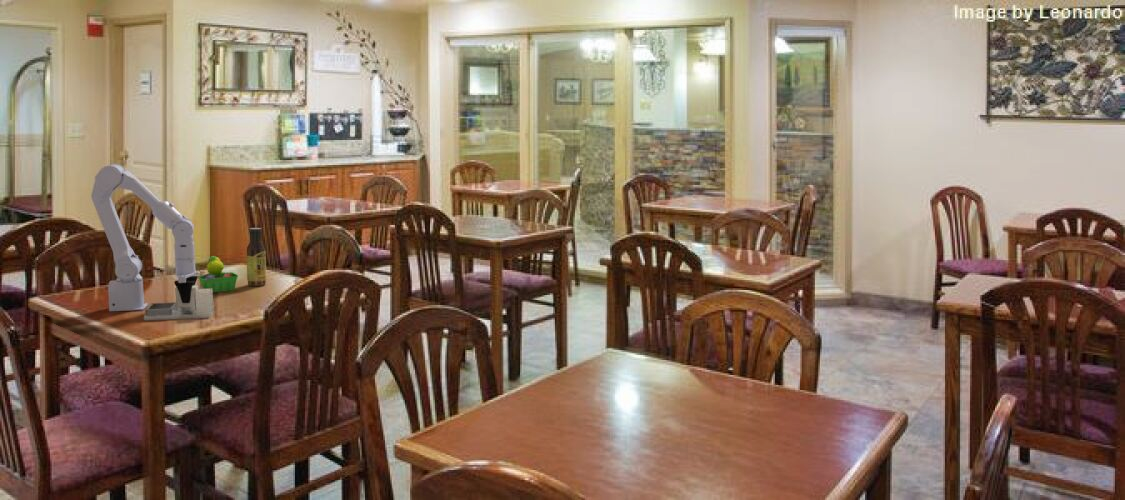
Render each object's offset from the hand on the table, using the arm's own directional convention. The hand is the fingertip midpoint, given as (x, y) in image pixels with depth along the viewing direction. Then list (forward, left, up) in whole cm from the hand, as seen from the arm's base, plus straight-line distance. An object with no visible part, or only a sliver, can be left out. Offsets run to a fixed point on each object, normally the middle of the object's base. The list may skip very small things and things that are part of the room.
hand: (187, 301), depth 283 cm
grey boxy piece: (0, -13, -1) cm, 13 cm away
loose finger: (0, 0, -1) cm, 1 cm away
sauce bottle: (+18, +29, -2) cm, 34 cm away
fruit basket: (+6, +23, -2) cm, 24 cm away
